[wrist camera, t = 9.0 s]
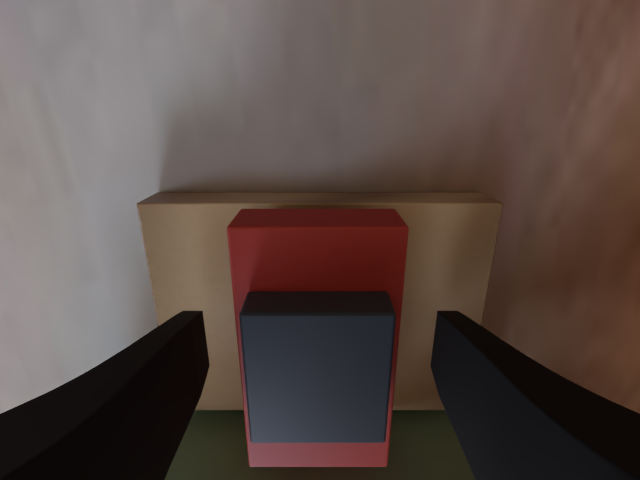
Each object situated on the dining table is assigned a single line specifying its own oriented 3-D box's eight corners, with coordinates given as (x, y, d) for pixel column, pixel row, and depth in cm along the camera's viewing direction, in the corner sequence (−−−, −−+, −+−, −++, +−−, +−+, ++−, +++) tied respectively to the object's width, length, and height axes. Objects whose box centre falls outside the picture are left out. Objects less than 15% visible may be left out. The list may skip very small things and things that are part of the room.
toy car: (391, 202, 11) (422, 242, 8) (377, 410, 14) (394, 504, 10) (244, 202, 11) (212, 242, 8) (259, 410, 14) (241, 504, 10)
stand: (482, 192, 12) (503, 203, 11) (452, 382, 15) (466, 410, 14) (156, 192, 12) (135, 203, 11) (186, 382, 15) (173, 410, 14)
